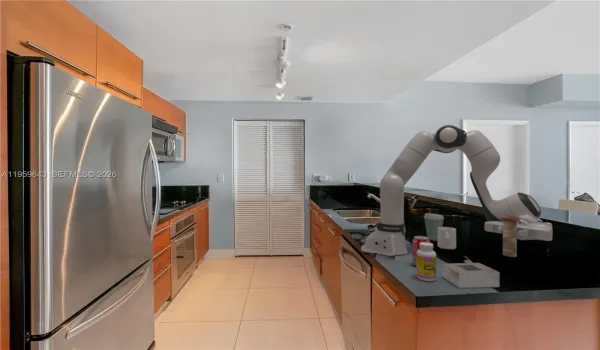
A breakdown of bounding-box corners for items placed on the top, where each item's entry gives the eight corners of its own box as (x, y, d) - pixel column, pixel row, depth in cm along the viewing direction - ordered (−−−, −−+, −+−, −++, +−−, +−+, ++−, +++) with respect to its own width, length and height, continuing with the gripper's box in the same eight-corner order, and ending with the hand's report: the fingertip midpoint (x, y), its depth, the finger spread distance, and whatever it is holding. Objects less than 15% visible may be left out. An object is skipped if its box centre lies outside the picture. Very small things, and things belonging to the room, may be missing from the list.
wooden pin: (502, 256, 99) (502, 217, 99) (498, 252, 104) (498, 215, 104) (521, 258, 96) (521, 218, 96) (517, 254, 101) (517, 216, 101)
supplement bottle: (422, 282, 98) (421, 246, 98) (413, 275, 105) (413, 241, 105) (440, 281, 99) (439, 245, 99) (430, 275, 105) (429, 241, 106)
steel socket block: (459, 288, 93) (459, 273, 93) (442, 277, 103) (442, 263, 103) (499, 286, 94) (499, 272, 94) (479, 276, 104) (479, 262, 104)
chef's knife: (472, 271, 111) (480, 271, 110) (471, 268, 111) (480, 268, 110) (458, 257, 129) (465, 257, 129) (458, 254, 129) (465, 254, 129)
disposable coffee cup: (437, 237, 168) (437, 212, 168) (448, 241, 158) (447, 215, 158) (420, 237, 168) (420, 213, 168) (430, 241, 157) (430, 215, 157)
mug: (437, 244, 151) (437, 226, 151) (455, 246, 148) (455, 227, 148) (438, 250, 140) (438, 230, 140) (458, 251, 137) (457, 231, 137)
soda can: (433, 265, 116) (433, 237, 116) (427, 269, 111) (426, 240, 111) (416, 262, 121) (416, 234, 121) (409, 265, 116) (409, 237, 116)
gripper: (492, 216, 116) (477, 219, 108) (557, 223, 99) (544, 228, 91) (492, 231, 116) (477, 235, 108) (557, 241, 99) (544, 247, 91)
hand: (508, 232), depth 100 cm, fingers closed on wooden pin, 4 cm apart
